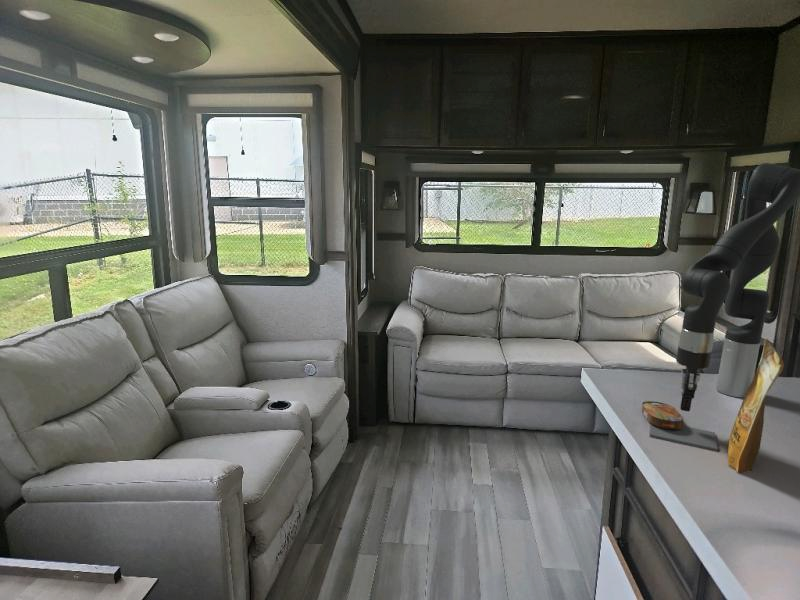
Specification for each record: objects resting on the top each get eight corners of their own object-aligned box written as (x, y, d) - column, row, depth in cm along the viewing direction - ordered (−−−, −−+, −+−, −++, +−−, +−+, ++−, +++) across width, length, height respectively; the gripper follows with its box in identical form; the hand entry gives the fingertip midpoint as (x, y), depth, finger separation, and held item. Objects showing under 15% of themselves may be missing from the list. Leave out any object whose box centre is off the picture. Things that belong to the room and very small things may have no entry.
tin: (688, 422, 132) (653, 416, 134) (685, 434, 133) (650, 427, 134) (671, 403, 147) (639, 397, 148) (668, 413, 147) (637, 407, 149)
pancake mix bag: (760, 447, 128) (782, 339, 121) (760, 482, 112) (785, 360, 106) (728, 439, 131) (747, 334, 125) (724, 472, 116) (746, 353, 110)
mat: (650, 421, 140) (650, 419, 140) (714, 434, 134) (714, 432, 134) (649, 436, 132) (649, 434, 132) (717, 451, 125) (717, 449, 125)
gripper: (678, 338, 139) (668, 398, 142) (678, 351, 127) (668, 416, 131) (710, 342, 135) (699, 404, 139) (714, 356, 124) (702, 423, 128)
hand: (684, 409), depth 135 cm, fingers closed
